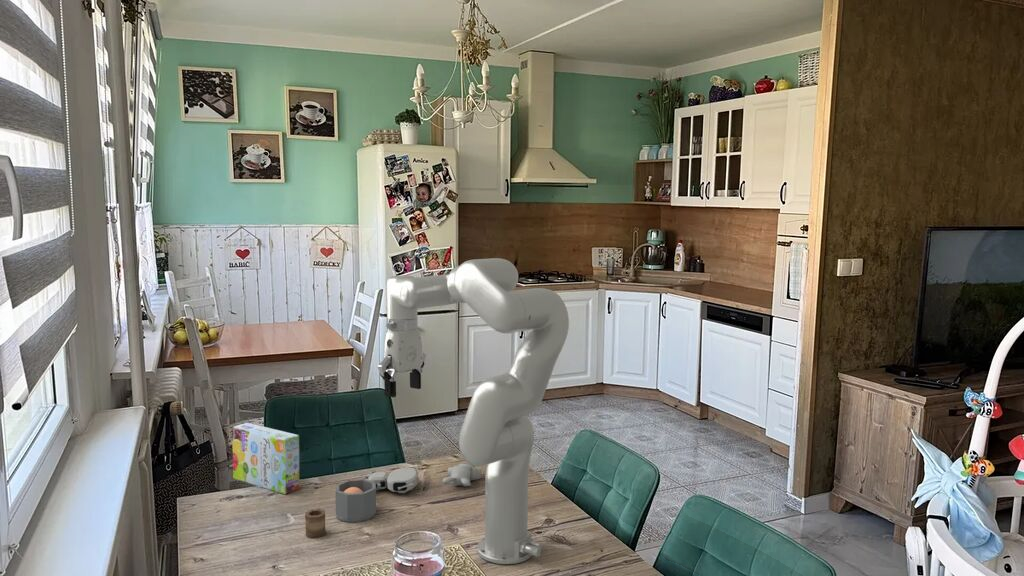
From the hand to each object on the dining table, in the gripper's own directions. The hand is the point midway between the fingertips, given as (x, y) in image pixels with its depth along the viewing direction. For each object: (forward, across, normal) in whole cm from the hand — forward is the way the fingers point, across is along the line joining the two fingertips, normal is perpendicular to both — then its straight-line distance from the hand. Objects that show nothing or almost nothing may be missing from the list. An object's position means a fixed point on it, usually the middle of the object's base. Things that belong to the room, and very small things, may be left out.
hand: (403, 392), depth 179 cm
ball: (+25, -12, +6) cm, 29 cm away
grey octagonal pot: (+29, -11, +6) cm, 32 cm away
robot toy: (+30, +6, +10) cm, 32 cm away
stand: (+29, -24, +7) cm, 38 cm away
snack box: (+29, -10, +40) cm, 51 cm away
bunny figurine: (+30, +19, -4) cm, 36 cm away
